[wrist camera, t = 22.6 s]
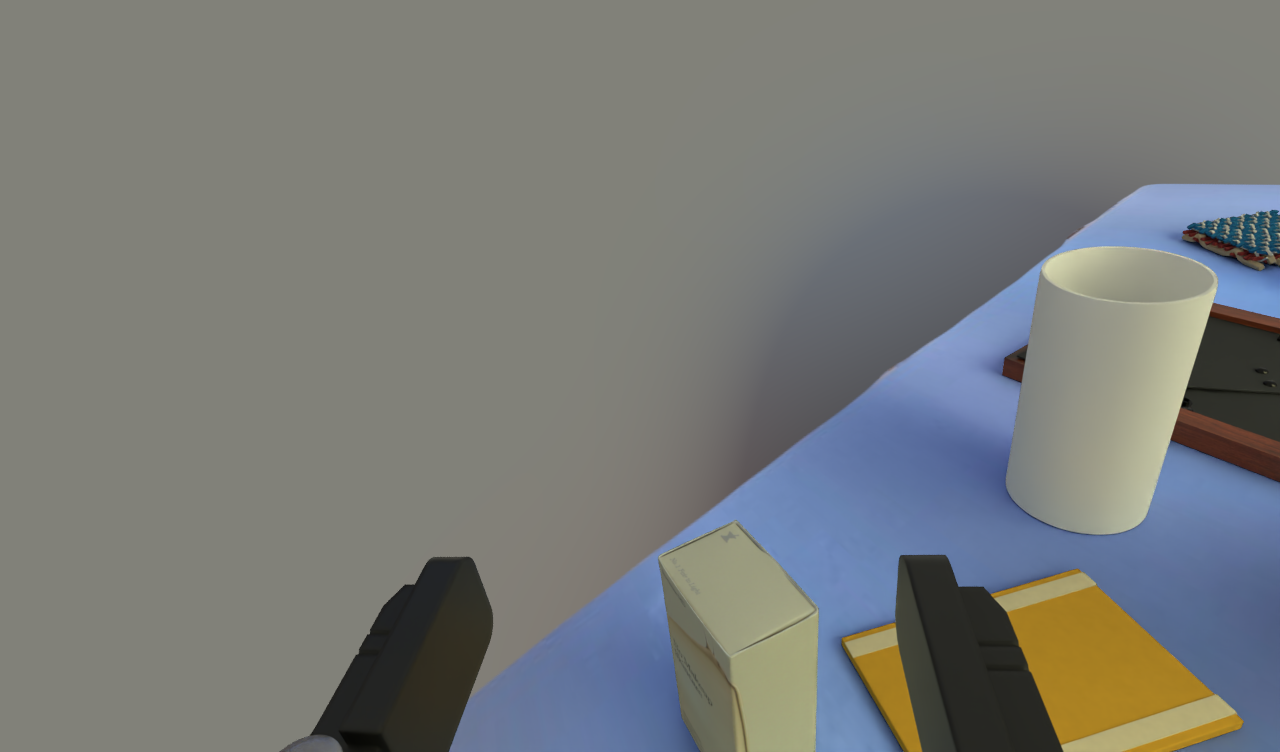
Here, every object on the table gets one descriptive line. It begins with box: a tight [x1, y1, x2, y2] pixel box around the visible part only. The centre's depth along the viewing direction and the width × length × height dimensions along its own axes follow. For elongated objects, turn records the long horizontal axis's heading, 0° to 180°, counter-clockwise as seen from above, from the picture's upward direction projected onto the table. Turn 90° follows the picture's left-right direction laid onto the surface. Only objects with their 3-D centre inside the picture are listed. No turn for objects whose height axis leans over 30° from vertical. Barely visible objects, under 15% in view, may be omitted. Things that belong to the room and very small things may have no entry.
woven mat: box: [1182, 210, 1280, 271], centre depth 72 cm, size 10×11×2 cm
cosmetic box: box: [658, 520, 819, 752], centre depth 31 cm, size 6×4×12 cm
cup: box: [1006, 247, 1218, 535], centre depth 42 cm, size 8×8×16 cm
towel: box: [842, 569, 1244, 752], centre depth 35 cm, size 15×10×1 cm, turn 102°
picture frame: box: [1002, 303, 1280, 482], centre depth 53 cm, size 20×2×25 cm
